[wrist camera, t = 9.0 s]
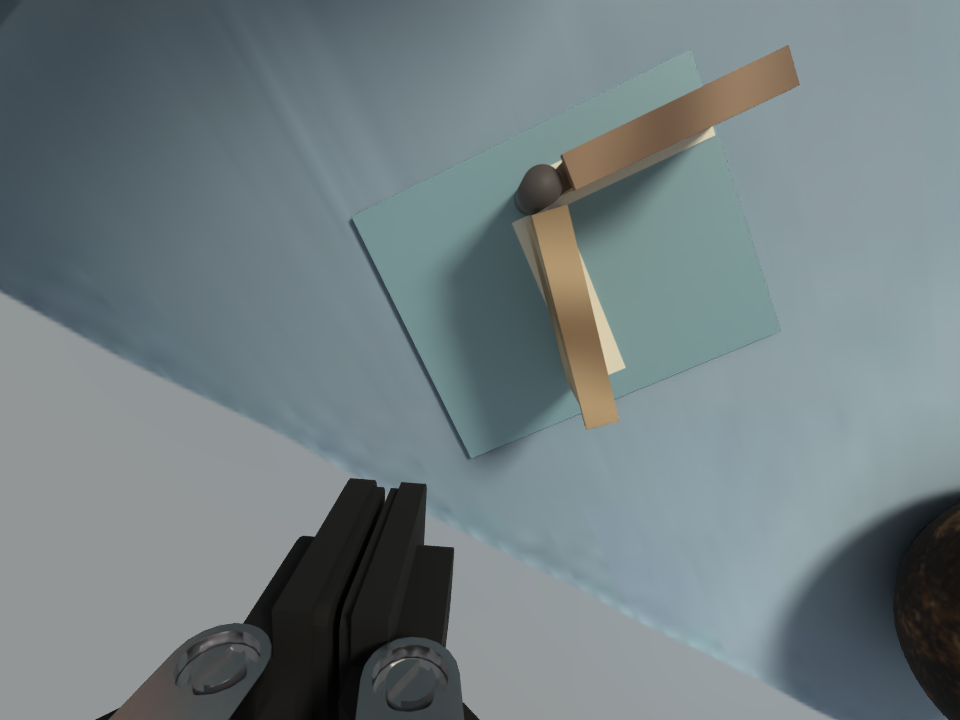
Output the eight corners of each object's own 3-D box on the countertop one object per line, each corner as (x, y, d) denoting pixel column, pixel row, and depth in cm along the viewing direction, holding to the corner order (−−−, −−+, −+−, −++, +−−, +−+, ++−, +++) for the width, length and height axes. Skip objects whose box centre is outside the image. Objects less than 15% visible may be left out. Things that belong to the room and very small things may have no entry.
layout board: (688, 51, 27) (691, 48, 27) (777, 329, 31) (782, 330, 30) (353, 216, 30) (350, 216, 29) (471, 455, 33) (471, 459, 33)
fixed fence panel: (706, 96, 27) (787, 42, 20) (716, 128, 28) (800, 87, 20) (509, 191, 29) (515, 173, 21) (521, 220, 29) (532, 213, 22)
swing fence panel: (521, 221, 29) (532, 215, 22) (548, 213, 28) (567, 204, 21) (565, 386, 31) (586, 429, 24) (589, 379, 31) (619, 421, 24)
